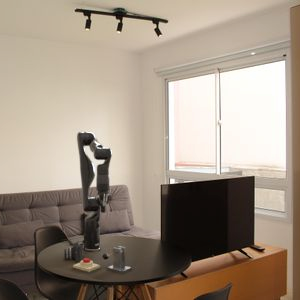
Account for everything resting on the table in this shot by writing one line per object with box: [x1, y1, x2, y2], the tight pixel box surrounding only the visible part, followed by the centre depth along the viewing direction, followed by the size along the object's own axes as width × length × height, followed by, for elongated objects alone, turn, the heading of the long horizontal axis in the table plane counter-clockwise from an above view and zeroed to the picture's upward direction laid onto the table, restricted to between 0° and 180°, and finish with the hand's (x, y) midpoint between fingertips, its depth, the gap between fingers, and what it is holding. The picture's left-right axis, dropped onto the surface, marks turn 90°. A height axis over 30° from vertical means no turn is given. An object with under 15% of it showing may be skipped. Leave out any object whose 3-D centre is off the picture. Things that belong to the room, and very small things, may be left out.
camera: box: [63, 240, 84, 262], centre depth 222 cm, size 14×11×10 cm
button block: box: [72, 259, 101, 273], centre depth 204 cm, size 11×9×4 cm
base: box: [106, 245, 132, 273], centre depth 203 cm, size 10×8×12 cm
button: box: [82, 257, 91, 263], centre depth 204 cm, size 4×4×2 cm
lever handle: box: [102, 248, 123, 261], centre depth 206 cm, size 13×3×3 cm, turn 49°
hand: (103, 212), depth 222 cm, fingers closed
